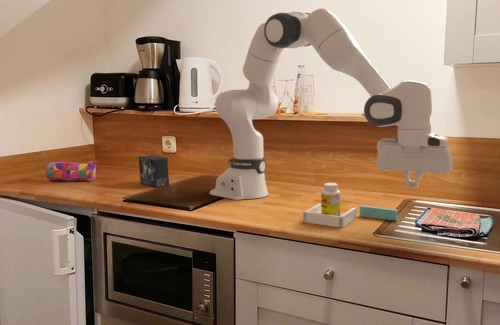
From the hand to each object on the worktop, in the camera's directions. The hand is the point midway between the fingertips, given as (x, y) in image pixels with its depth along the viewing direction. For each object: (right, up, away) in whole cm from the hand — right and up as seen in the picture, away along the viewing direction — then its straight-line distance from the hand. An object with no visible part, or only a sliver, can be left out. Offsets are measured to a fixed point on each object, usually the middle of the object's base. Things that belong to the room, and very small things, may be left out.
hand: (412, 187), depth 132 cm
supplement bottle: (-22, -10, +6) cm, 25 cm away
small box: (-87, -3, +63) cm, 108 cm away
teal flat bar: (-8, -10, +7) cm, 14 cm away
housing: (-22, -10, +6) cm, 25 cm away
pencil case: (-126, -2, +76) cm, 147 cm away
